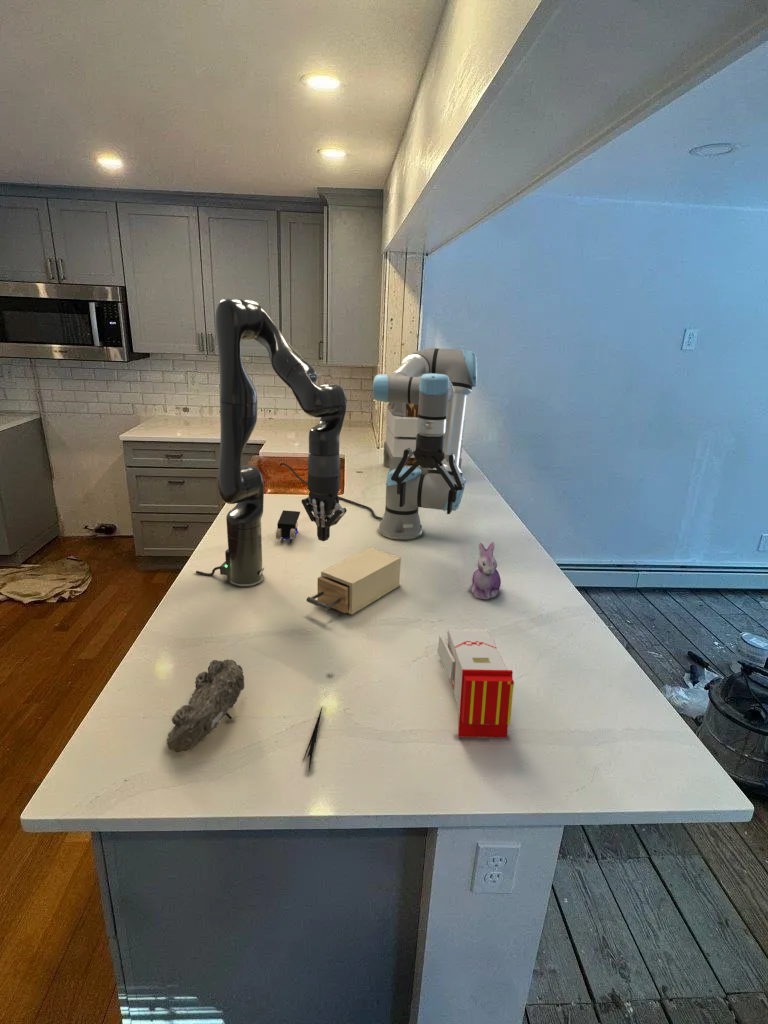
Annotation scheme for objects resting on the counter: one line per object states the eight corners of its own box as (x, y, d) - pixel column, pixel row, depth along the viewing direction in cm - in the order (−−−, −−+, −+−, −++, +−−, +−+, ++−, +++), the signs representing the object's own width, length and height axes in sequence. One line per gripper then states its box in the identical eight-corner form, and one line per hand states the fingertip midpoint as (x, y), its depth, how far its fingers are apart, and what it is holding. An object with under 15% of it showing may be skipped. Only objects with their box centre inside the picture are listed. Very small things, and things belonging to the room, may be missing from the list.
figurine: (482, 603, 154) (488, 553, 149) (461, 587, 163) (466, 539, 158) (510, 597, 158) (516, 547, 153) (487, 581, 167) (493, 534, 162)
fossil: (192, 660, 117) (244, 628, 112) (224, 691, 120) (276, 661, 115) (142, 746, 98) (202, 712, 93) (182, 779, 101) (242, 748, 96)
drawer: (330, 622, 140) (330, 597, 138) (302, 609, 146) (302, 585, 143) (390, 586, 160) (392, 563, 157) (364, 576, 165) (364, 554, 163)
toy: (488, 613, 130) (523, 677, 101) (484, 667, 133) (517, 744, 104) (435, 612, 130) (455, 676, 101) (432, 666, 133) (451, 743, 103)
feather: (331, 679, 122) (336, 673, 122) (307, 777, 96) (313, 769, 95) (324, 675, 122) (329, 669, 121) (298, 772, 95) (304, 764, 95)
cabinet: (351, 614, 146) (352, 583, 143) (320, 601, 152) (320, 571, 149) (399, 586, 162) (400, 557, 159) (369, 574, 168) (370, 547, 165)
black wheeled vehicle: (295, 549, 186) (301, 528, 200) (295, 529, 183) (300, 509, 196) (275, 549, 186) (282, 527, 199) (274, 528, 183) (281, 508, 196)
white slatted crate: (382, 463, 289) (386, 382, 275) (445, 464, 293) (451, 384, 279) (390, 482, 257) (394, 392, 243) (460, 483, 261) (468, 394, 247)
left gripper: (292, 468, 133) (292, 537, 139) (334, 480, 126) (333, 551, 132) (314, 463, 139) (314, 528, 145) (356, 473, 131) (354, 542, 137)
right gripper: (381, 431, 151) (378, 506, 158) (474, 441, 144) (466, 520, 151) (390, 426, 158) (387, 498, 165) (479, 436, 150) (472, 511, 157)
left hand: (323, 539), depth 138 cm, fingers closed
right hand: (425, 509), depth 158 cm, fingers open, 13 cm apart
